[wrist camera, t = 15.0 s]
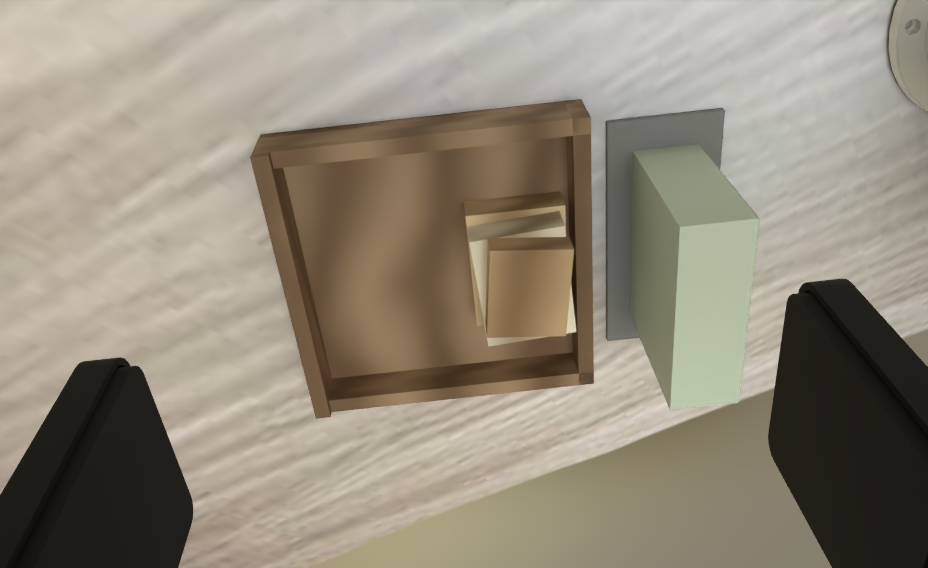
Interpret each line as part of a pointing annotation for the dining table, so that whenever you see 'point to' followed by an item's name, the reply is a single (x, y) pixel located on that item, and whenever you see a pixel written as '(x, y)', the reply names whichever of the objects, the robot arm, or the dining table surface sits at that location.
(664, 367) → the pale green rectangular block
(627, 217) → the mat
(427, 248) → the wooden tray
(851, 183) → the dining table surface
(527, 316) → the offcut teak
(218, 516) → the dining table surface
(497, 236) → the offcut birch
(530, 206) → the offcut oak
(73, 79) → the dining table surface
